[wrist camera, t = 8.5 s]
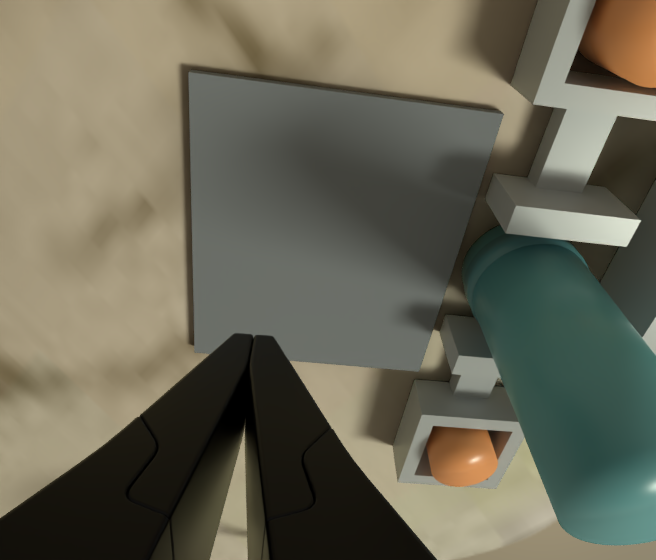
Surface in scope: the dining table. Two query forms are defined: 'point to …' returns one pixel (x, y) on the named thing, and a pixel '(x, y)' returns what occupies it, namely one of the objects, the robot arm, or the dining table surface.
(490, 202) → the housing
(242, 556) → the dining table surface
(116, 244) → the dining table surface
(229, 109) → the mat
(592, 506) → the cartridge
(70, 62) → the dining table surface
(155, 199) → the dining table surface
